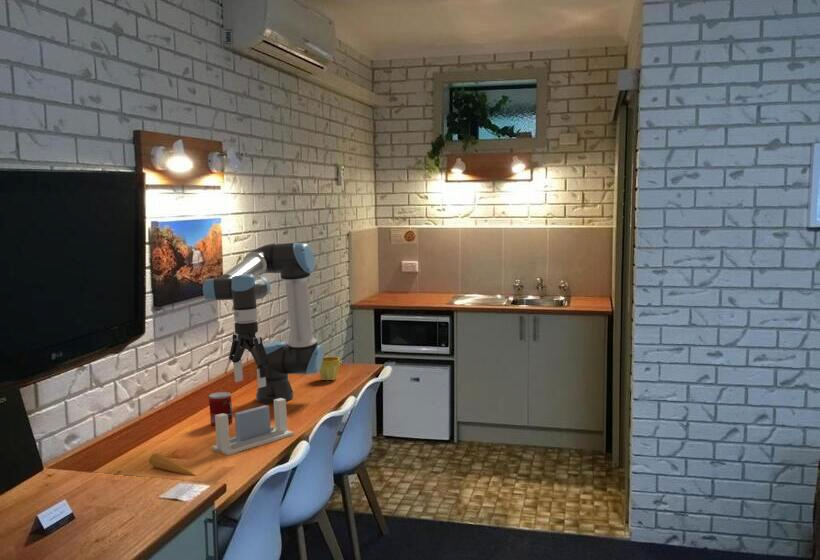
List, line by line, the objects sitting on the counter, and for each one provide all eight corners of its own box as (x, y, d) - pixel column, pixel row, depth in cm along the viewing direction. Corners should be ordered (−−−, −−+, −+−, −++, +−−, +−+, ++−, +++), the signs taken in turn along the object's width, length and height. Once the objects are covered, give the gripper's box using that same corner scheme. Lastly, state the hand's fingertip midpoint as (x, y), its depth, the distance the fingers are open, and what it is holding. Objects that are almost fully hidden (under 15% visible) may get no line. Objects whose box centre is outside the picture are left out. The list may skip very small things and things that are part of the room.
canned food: (227, 427, 261) (225, 397, 260) (206, 426, 263) (204, 397, 262) (236, 420, 269) (234, 391, 268) (216, 420, 271) (214, 391, 269)
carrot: (148, 468, 222) (144, 457, 220) (159, 459, 225) (156, 448, 223) (195, 487, 212) (191, 476, 210) (206, 477, 216) (202, 466, 214)
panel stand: (276, 429, 256) (274, 396, 255) (293, 434, 249) (291, 400, 248) (211, 449, 237) (209, 413, 236) (228, 455, 230) (225, 418, 229)
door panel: (266, 433, 248) (264, 405, 247) (270, 434, 247) (269, 406, 246) (236, 442, 240) (234, 413, 239) (240, 444, 238) (238, 414, 237)
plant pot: (341, 376, 334) (340, 355, 333) (340, 381, 324) (339, 360, 323) (318, 377, 333) (317, 356, 332) (317, 383, 323) (315, 361, 322)
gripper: (215, 319, 245) (220, 380, 247) (258, 326, 228) (262, 392, 230) (234, 316, 250) (239, 376, 253) (277, 322, 233) (281, 387, 235)
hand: (250, 384), depth 241 cm, fingers open, 13 cm apart
